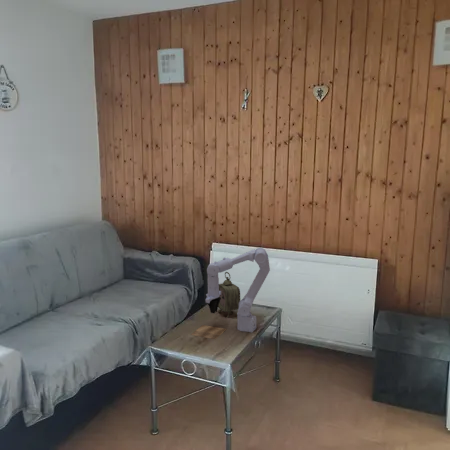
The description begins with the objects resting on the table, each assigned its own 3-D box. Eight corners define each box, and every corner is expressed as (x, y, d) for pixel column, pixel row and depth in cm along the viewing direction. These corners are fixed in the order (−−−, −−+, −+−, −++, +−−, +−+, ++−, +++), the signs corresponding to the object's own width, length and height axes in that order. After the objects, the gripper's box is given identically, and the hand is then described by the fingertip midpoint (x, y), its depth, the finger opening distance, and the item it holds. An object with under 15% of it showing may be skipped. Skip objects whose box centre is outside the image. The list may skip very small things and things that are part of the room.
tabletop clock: (216, 311, 253) (215, 270, 249) (230, 309, 257) (229, 268, 253) (226, 320, 240) (226, 276, 236) (241, 317, 244) (241, 274, 240)
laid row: (220, 337, 217) (220, 335, 217) (215, 341, 212) (215, 339, 212) (195, 333, 223) (195, 331, 222) (190, 336, 218) (190, 334, 218)
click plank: (226, 331, 224) (226, 329, 224) (220, 337, 217) (220, 335, 217) (202, 327, 230) (202, 325, 230) (195, 333, 223) (195, 330, 223)
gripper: (212, 282, 230) (213, 306, 233) (199, 289, 217) (200, 315, 220) (224, 283, 228) (225, 308, 230) (212, 291, 215) (213, 317, 217)
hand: (213, 312), depth 224 cm, fingers closed
